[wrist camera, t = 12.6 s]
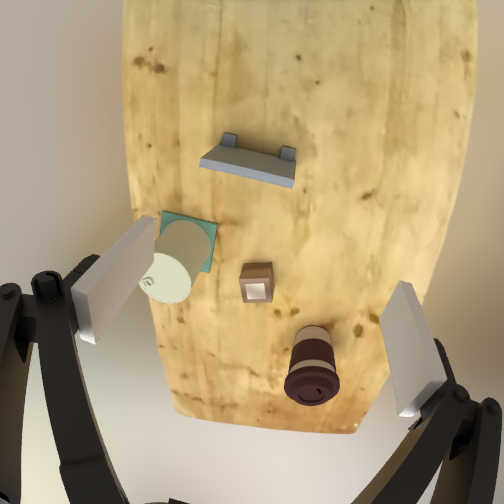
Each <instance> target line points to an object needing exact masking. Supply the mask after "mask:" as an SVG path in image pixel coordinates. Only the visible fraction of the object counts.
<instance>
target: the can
mask: <svg viewBox="0 0 504 504" xmlns="http://www.w3.org/2000/svg"><path fill="white" fill-rule="evenodd" d="M210 251H211V243H210V239H209V237H208V235H207V233H206V232H205V230H204V229H203V228H202V227H200V226H199V225H198V224H196V223H194V222H192V221H188V220H177V221H174V222H172V223H170V224H169V225H168V226H167V227H166V228H165V229H164V231H163V233H162V234H161V235H160V236H159V238H158V239H157V240H156V241H155V245H154V263H153V264H152V265H151V267H150V268H149V269H148V271H147V272H146V273H145V275H144V276H143V277H142V279H141V280H140V282H139V285H140V287H141V288H142V289H143V290H144V292H145V293H147V294H148V295H149V296H150V297H152V298H153V299H155V300H157V301H160V302H163V303H178V302H181V301H183V300H184V299H185V298H186V297H187V296H188V295H189V293H190V291H191V288H192V286H193V284H194V282H195V280H196V278H197V276H198V274H199V272H200V270H201V268H202V266H203V264H204V262H205V261H206V259H207V258H208V256H209V254H210Z"/></svg>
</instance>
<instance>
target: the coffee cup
mask: <svg viewBox="0 0 504 504" xmlns="http://www.w3.org/2000/svg"><path fill="white" fill-rule="evenodd" d="M339 389H340V382H339V377H338V375H337V374H336V366H335V359H334V352H333V348H332V346H331V339H330V335H329V333H328V332H327V331H326V330H325V329H323V328H321V327H317V326H309V327H305V328H303V329H301V330H300V331H299V332H298V333H297V335H296V337H295V343H294V347H293V350H292V354H291V360H290V366H289V371H288V375H287V377H286V379H285V383H284V390H285V393H286V394H287V396H289V397H290V398H291V399H293V400H295V401H296V402H297V403H299V404H302V405H306V406H316V405H320V404H323V403H325V402H327V401H328V400H330V399H331V398H333V397H334V396H335V395H336V394H337V393H338V391H339Z"/></svg>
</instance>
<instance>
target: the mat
mask: <svg viewBox="0 0 504 504" xmlns="http://www.w3.org/2000/svg"><path fill="white" fill-rule="evenodd" d="M177 220H188V221H192V222H194V223H196V224H198V225H199V226H200V227H202V228H203V229H204V230H205V232H206V233H207V235H208V237H209V239H210V243H211V251H210V254H209V256H208V258H207V259H206V261H205V262H204V264H203V266H202V268H201V270H200V271H202V272H206V273H209V272H210V267H211V261H212V255H213V249H214V243H215V237H216V231H217V225H218V224H217V223H213V222H209V221H205V220H201V219H196V218H192V217H188V216H184V215H180V214H176V213H172V212H168V211H162V217H161V230H160V235H161V234H162V233H163V231H164V229H165V228H166V227H167V226H168V225H169V224H170V223H172V222H174V221H177Z"/></svg>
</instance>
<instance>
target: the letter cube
mask: <svg viewBox="0 0 504 504" xmlns="http://www.w3.org/2000/svg"><path fill="white" fill-rule="evenodd" d="M239 282H240V288H241V293H242V298H243V303H265V302H272V300H273V293H274V287H275V285H274V277H273V269H272V262H269V263H247V264H244V265H243V268H242V271H241V274H240V277H239Z"/></svg>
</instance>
